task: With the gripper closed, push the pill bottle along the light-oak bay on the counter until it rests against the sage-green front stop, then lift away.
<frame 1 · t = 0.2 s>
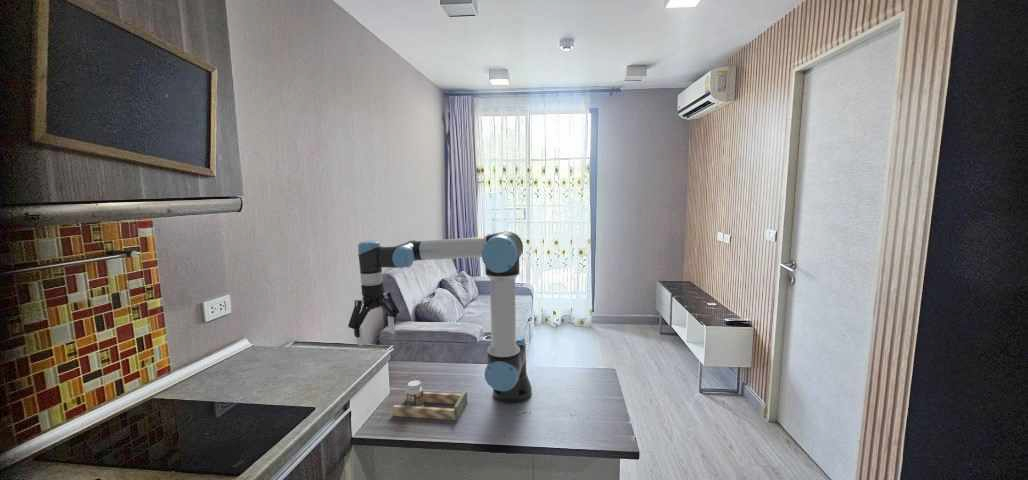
hand: (376, 338, 148), 26 cm above the counter, fingers open, 13 cm apart
bay: (431, 409, 147), on the counter
pill bottle: (416, 408, 148), resting in bay
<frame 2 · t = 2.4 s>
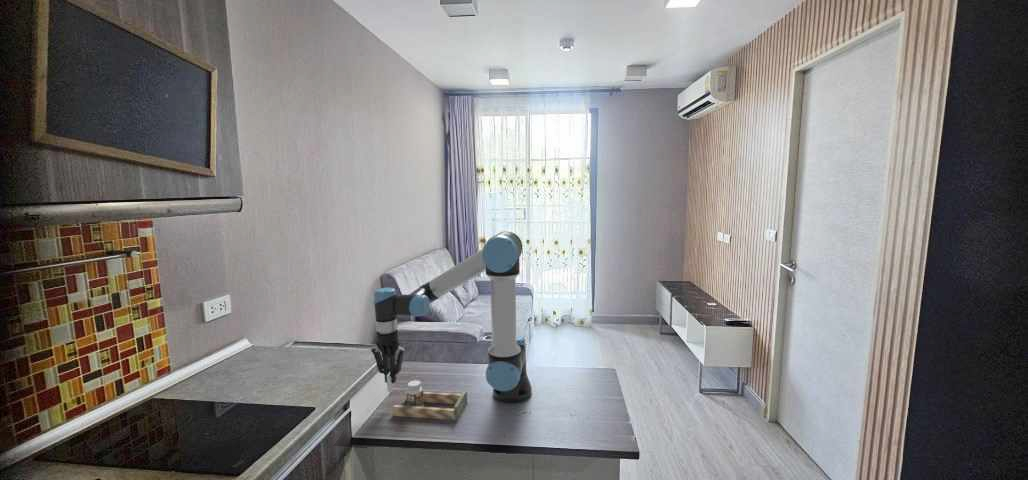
hand: (391, 390, 149), 7 cm above the counter, fingers closed
nothing on the counter moved.
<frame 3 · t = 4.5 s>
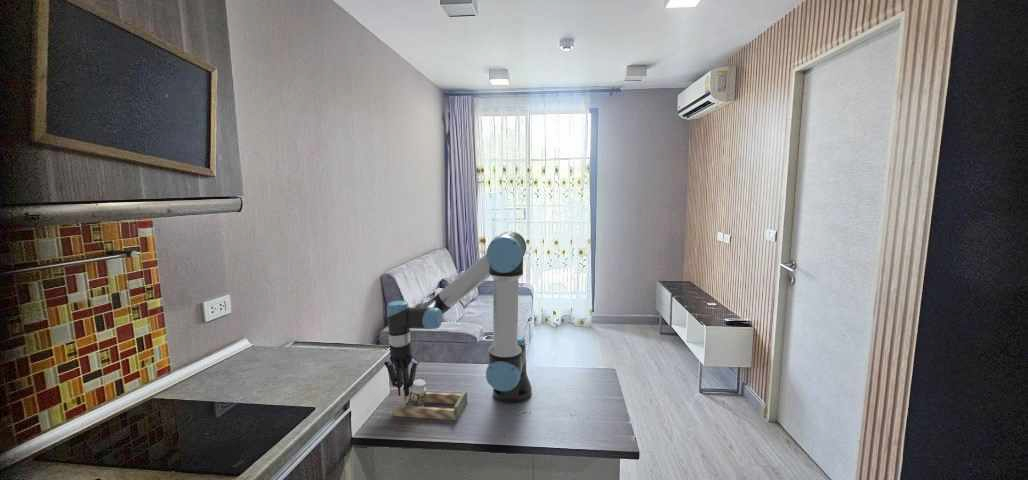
hand: (404, 403, 149), 2 cm above the counter, fingers closed
pill bottle: (416, 407, 148), resting in bay, touching gripper
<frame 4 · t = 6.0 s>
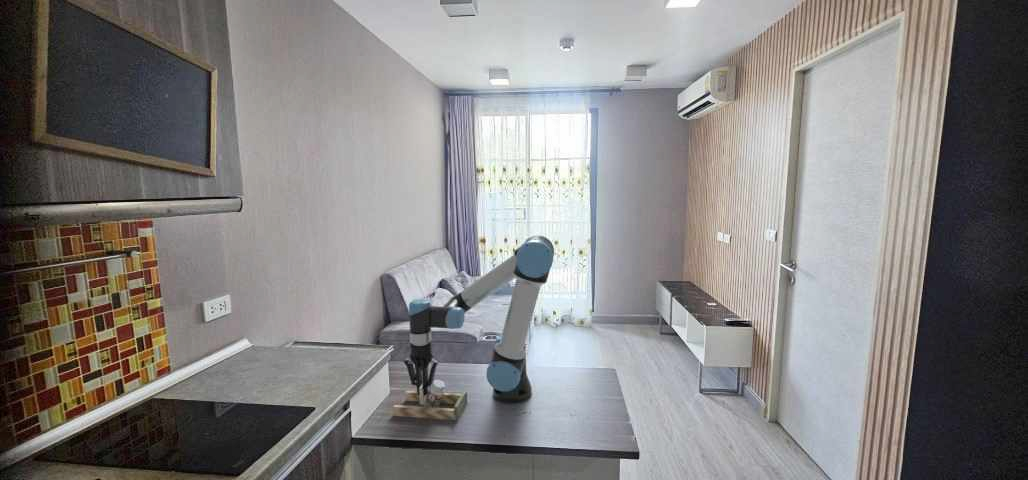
hand: (423, 402, 148), 2 cm above the counter, fingers closed
pill bottle: (431, 407, 147), point 1 cm above the counter, touching gripper
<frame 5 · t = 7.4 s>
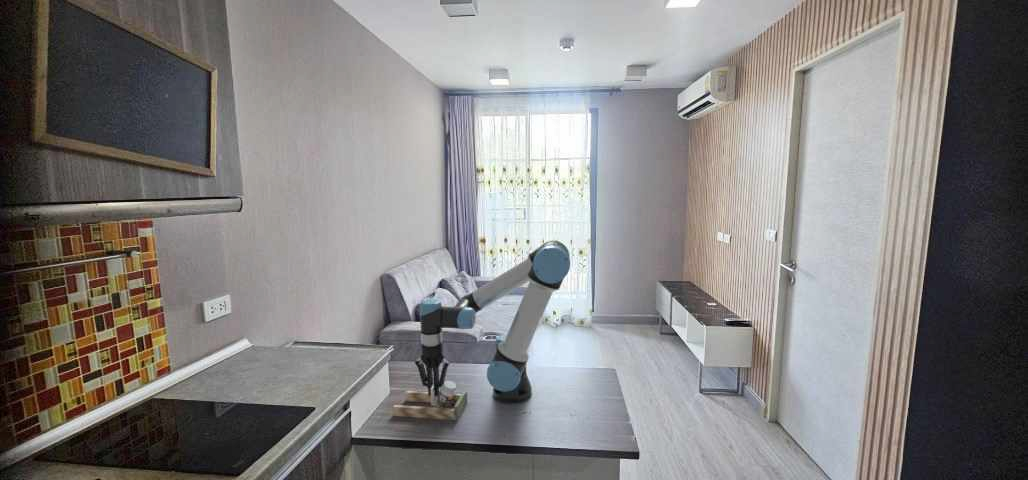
hand: (434, 403, 147), 2 cm above the counter, fingers closed
pill bottle: (442, 408, 146), point 1 cm above the counter, touching gripper
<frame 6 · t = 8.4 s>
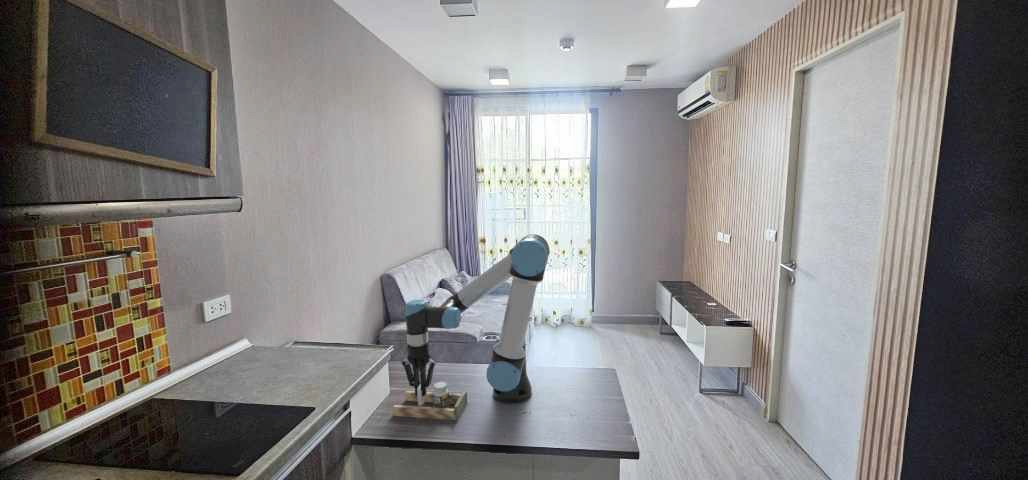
hand: (421, 403, 148), 2 cm above the counter, fingers closed
pill bottle: (442, 410, 146), resting in bay
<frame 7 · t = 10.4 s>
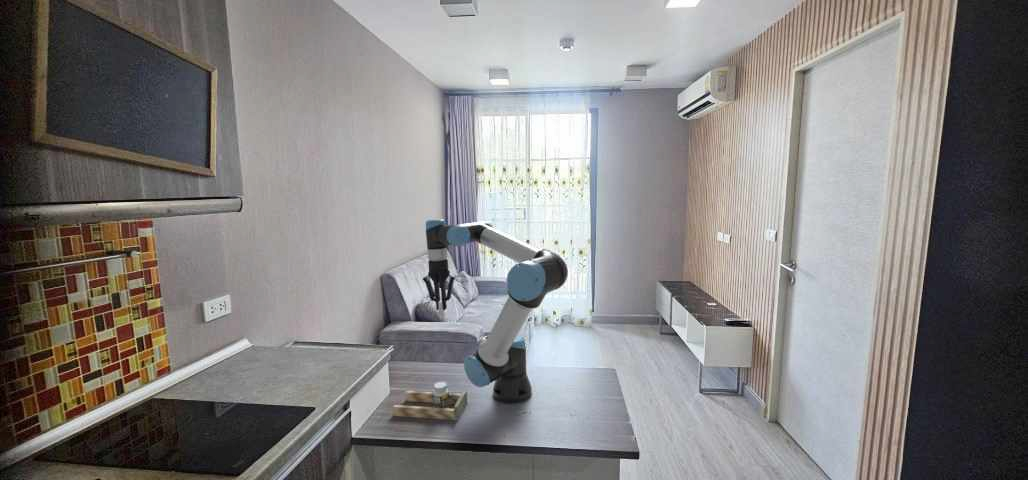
hand: (442, 317, 158), 30 cm above the counter, fingers closed
nothing on the counter moved.
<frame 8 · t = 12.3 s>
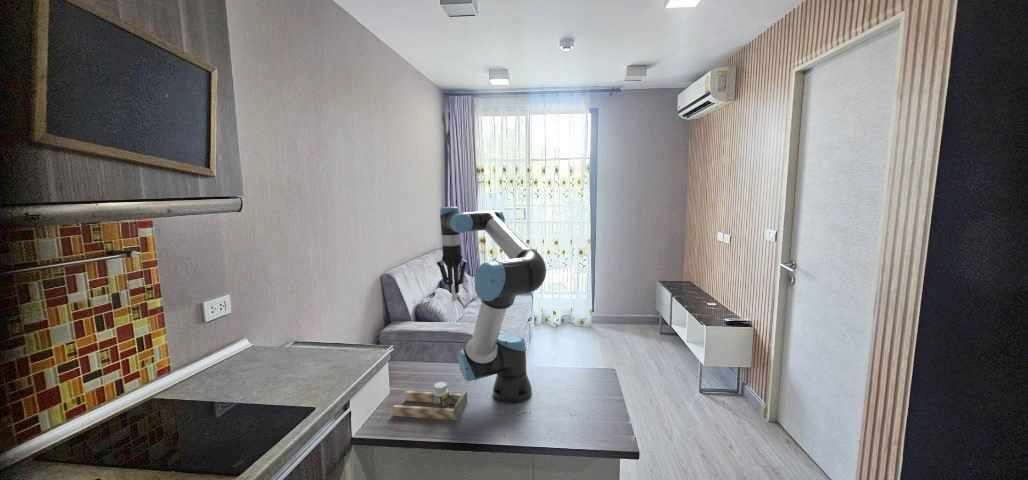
hand: (454, 300, 166), 34 cm above the counter, fingers closed
nothing on the counter moved.
at the end: pill bottle inside the target area (2.2 cm from its centre), resting in bay; pill bottle tilted 0° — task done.
